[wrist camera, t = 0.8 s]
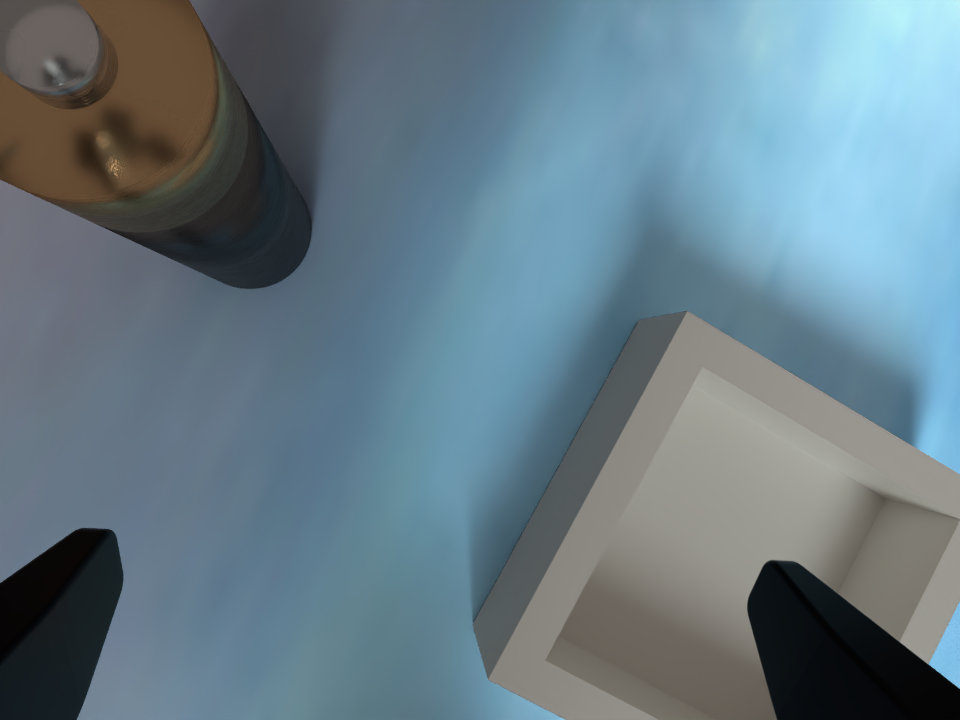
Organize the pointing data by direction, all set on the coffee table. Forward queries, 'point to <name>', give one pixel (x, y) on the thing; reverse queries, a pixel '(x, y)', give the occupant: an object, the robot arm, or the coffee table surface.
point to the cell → (145, 135)
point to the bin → (710, 534)
